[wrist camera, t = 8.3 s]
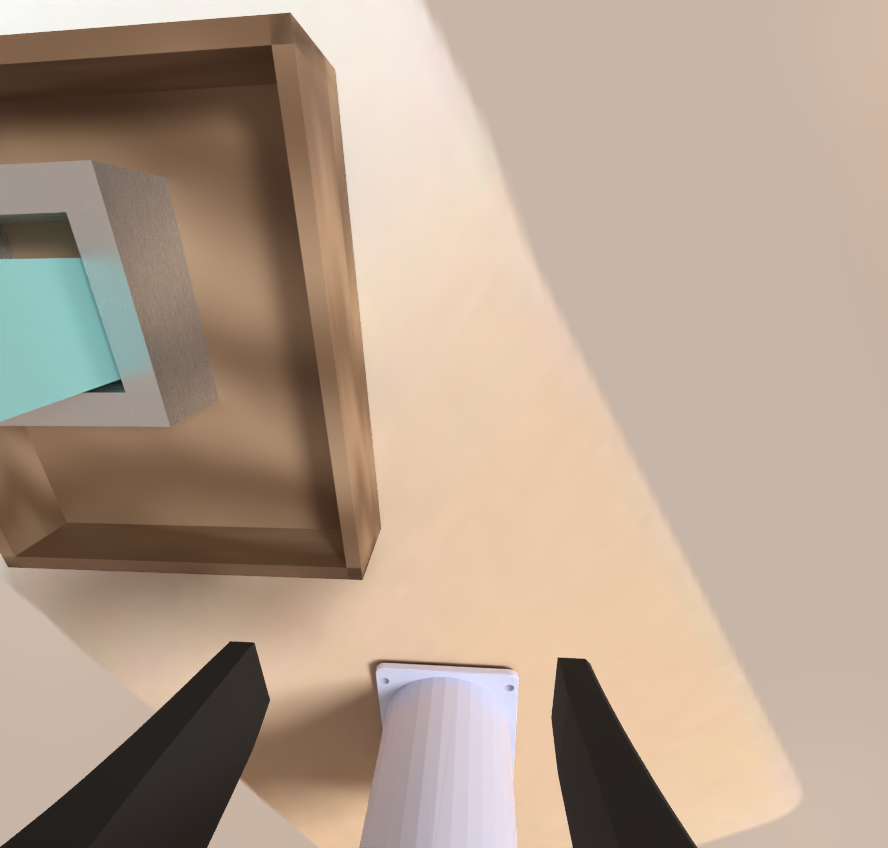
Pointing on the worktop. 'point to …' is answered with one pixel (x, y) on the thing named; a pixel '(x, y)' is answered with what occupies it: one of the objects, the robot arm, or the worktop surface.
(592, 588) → the worktop surface
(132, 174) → the metal socket
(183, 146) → the walnut tray
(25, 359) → the teal plug
